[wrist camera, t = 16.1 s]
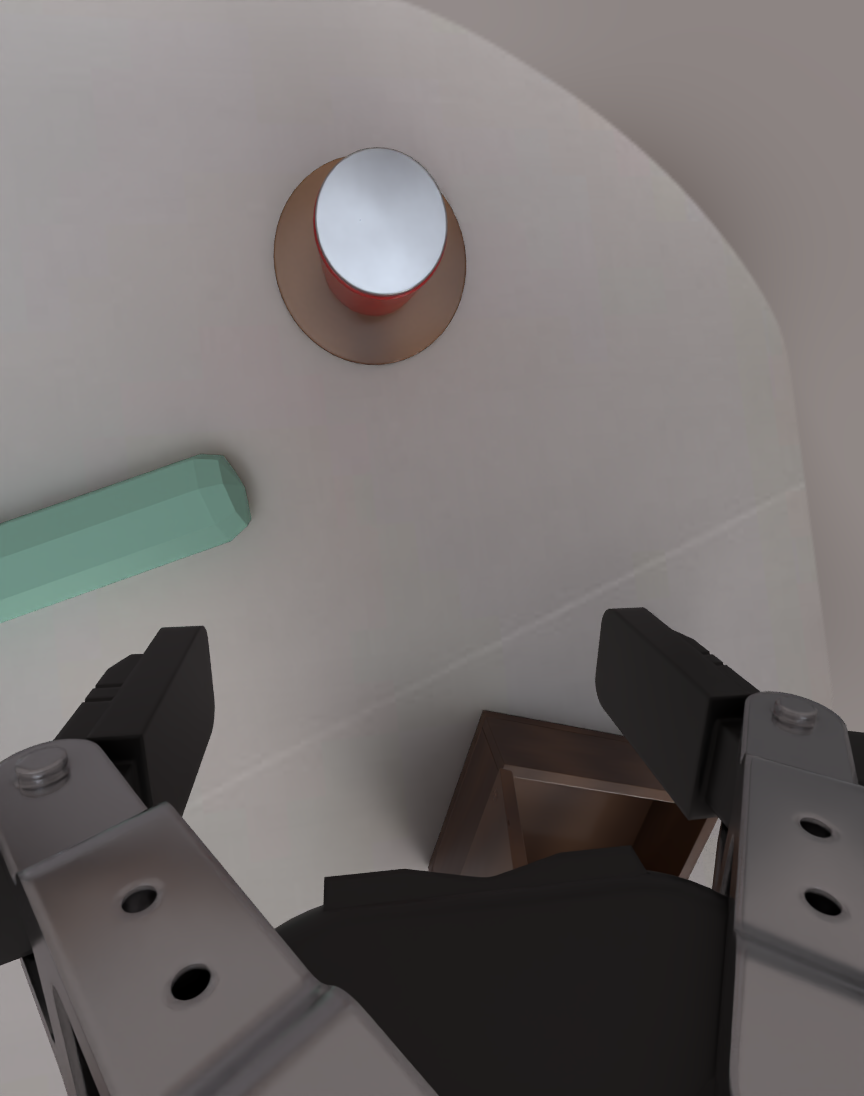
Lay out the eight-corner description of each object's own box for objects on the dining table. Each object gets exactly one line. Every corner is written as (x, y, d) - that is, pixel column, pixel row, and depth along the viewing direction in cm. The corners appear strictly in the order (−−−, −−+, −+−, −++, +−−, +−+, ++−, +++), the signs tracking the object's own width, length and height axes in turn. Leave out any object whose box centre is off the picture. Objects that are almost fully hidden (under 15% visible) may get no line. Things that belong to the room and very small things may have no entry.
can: (418, 204, 30) (446, 142, 22) (424, 313, 32) (453, 294, 23) (316, 207, 30) (303, 144, 21) (327, 318, 31) (320, 301, 23)
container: (218, 470, 27) (-321, 659, 26) (270, 560, 31) (-198, 728, 30) (219, 415, 32) (-242, 573, 31) (264, 499, 36) (-143, 643, 34)
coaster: (459, 154, 30) (461, 150, 30) (468, 358, 33) (470, 358, 33) (261, 160, 29) (259, 156, 29) (289, 370, 32) (287, 370, 32)
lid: (566, 1090, 19) (404, 1049, 18) (443, 1344, 22) (306, 1313, 22) (512, 770, 34) (425, 746, 34) (446, 946, 38) (366, 926, 38)
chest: (679, 745, 44) (727, 800, 38) (613, 889, 47) (649, 959, 42) (482, 709, 40) (504, 763, 35) (427, 867, 44) (439, 939, 38)
